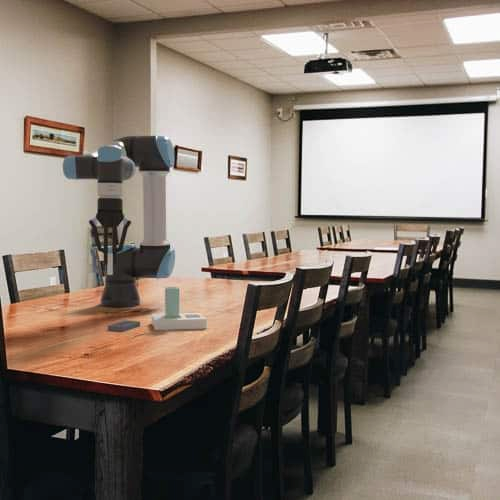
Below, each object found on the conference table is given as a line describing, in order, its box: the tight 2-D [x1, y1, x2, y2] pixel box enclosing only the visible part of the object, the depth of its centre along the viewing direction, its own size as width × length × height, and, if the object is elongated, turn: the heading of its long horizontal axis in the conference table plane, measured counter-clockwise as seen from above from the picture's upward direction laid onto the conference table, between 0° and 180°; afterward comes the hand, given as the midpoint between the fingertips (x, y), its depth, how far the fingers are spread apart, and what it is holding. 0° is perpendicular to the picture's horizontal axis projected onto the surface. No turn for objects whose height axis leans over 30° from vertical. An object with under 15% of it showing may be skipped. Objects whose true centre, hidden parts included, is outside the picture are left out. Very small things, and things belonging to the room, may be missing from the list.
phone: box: [107, 319, 141, 332], centre depth 202 cm, size 10×6×2 cm, turn 160°
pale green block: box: [164, 286, 180, 318], centre depth 206 cm, size 4×4×12 cm
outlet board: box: [150, 312, 208, 331], centre depth 207 cm, size 12×16×3 cm
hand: (109, 274), depth 200 cm, fingers closed
